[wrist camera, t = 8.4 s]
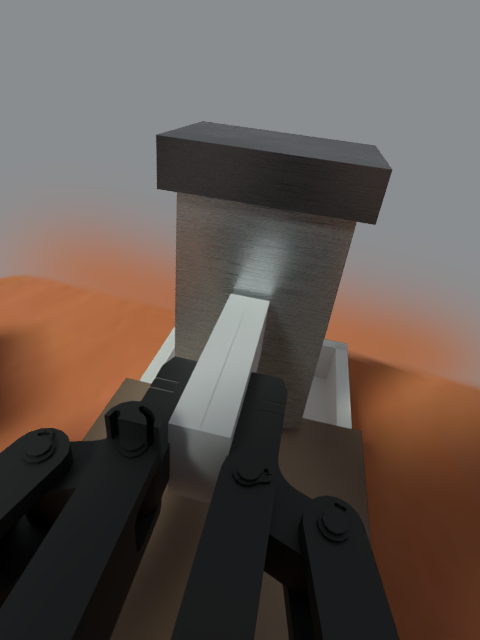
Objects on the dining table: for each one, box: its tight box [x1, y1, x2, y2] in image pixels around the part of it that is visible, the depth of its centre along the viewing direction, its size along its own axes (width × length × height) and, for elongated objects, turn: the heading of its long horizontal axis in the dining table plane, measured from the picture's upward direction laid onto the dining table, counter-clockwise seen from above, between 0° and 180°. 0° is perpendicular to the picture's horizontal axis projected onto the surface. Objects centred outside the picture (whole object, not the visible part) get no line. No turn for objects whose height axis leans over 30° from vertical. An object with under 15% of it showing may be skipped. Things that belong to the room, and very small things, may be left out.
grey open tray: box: [140, 327, 352, 429], centre depth 25 cm, size 12×10×4 cm
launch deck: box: [82, 378, 371, 640], centre depth 13 cm, size 12×17×5 cm
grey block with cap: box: [156, 121, 392, 431], centre depth 16 cm, size 7×5×12 cm
